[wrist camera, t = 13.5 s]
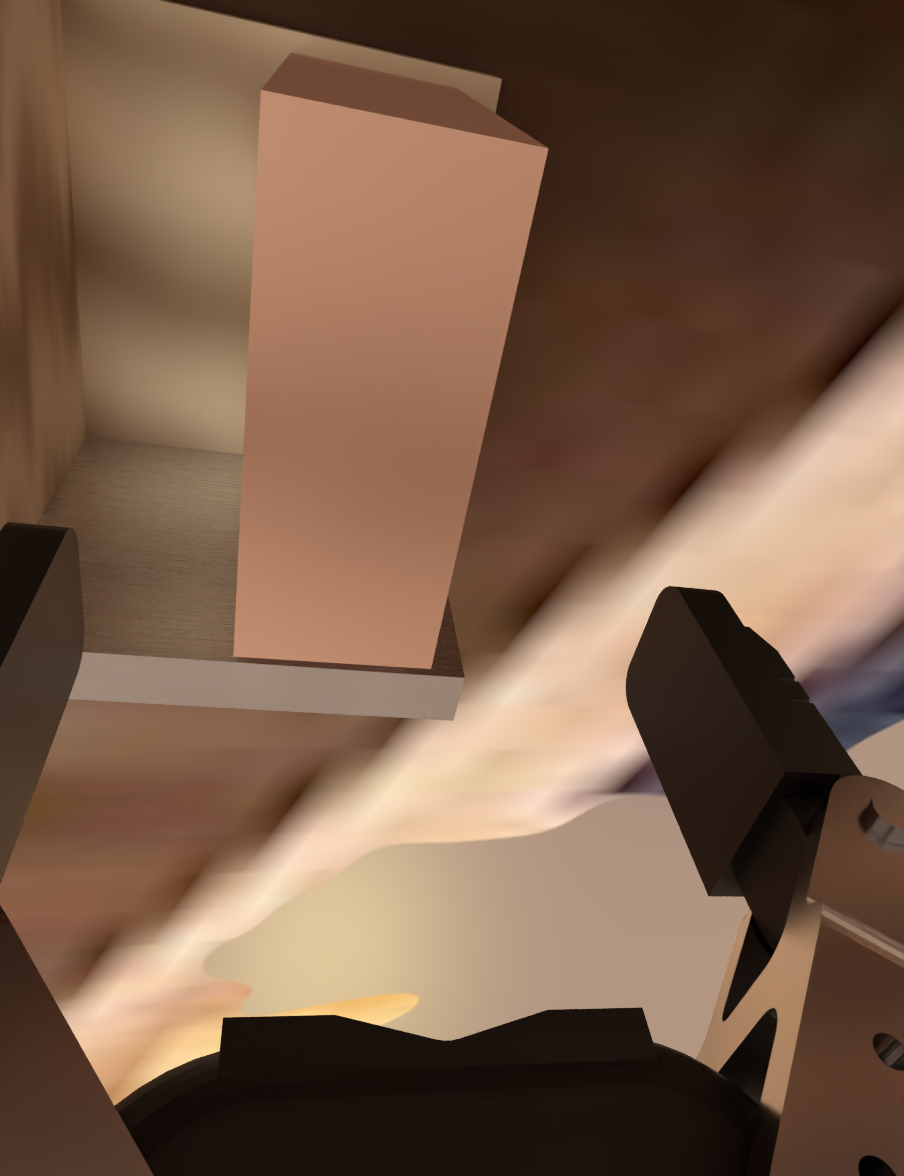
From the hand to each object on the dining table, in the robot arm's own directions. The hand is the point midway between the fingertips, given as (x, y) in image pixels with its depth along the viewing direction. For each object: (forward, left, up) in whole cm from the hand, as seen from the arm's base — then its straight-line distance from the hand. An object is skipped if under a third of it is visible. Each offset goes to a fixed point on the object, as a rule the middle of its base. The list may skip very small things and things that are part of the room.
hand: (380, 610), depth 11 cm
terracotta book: (0, 0, -17) cm, 17 cm away
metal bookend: (+7, -2, -17) cm, 19 cm away
